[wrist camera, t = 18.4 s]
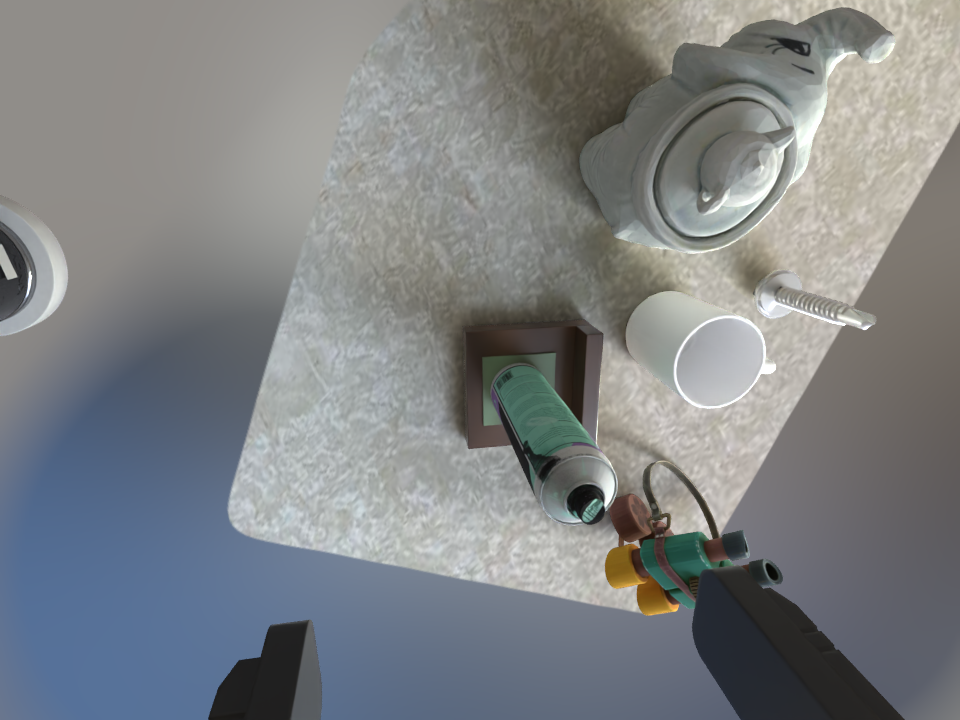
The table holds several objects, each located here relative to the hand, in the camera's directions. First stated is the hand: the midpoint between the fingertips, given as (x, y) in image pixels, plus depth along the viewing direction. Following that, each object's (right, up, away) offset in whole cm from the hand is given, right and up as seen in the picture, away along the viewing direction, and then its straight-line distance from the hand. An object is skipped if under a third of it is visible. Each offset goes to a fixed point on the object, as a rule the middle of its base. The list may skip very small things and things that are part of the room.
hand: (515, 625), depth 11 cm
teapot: (+15, +25, +37) cm, 47 cm away
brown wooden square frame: (+4, +3, +42) cm, 43 cm away
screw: (+28, +13, +44) cm, 53 cm away
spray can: (+3, +3, +40) cm, 41 cm away
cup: (+19, +8, +44) cm, 48 cm away
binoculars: (+18, -12, +50) cm, 55 cm away
